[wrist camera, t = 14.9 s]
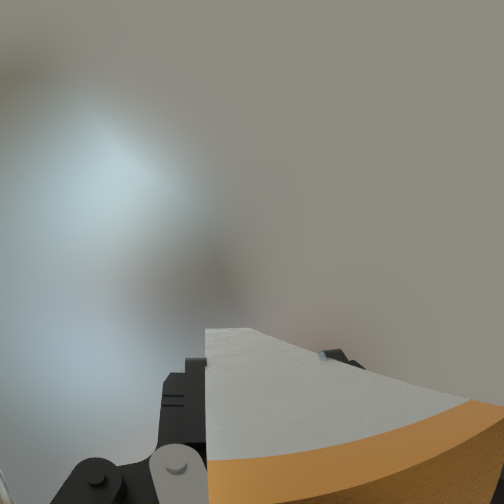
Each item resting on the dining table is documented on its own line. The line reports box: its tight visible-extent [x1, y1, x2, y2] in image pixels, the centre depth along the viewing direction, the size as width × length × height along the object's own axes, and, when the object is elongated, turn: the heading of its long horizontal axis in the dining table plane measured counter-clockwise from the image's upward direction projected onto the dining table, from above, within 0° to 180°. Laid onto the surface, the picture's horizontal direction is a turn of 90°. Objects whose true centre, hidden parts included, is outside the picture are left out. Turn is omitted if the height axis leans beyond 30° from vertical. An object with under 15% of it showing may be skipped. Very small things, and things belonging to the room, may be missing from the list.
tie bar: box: [205, 328, 504, 504], centre depth 14 cm, size 26×4×4 cm, turn 9°
